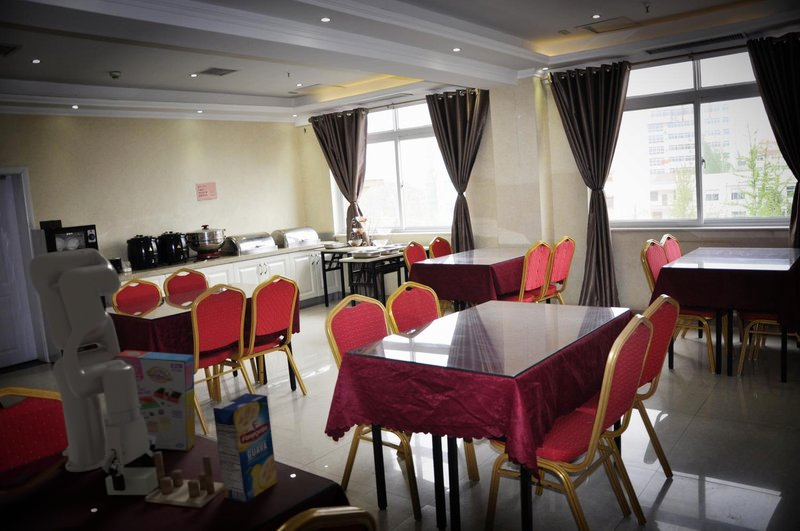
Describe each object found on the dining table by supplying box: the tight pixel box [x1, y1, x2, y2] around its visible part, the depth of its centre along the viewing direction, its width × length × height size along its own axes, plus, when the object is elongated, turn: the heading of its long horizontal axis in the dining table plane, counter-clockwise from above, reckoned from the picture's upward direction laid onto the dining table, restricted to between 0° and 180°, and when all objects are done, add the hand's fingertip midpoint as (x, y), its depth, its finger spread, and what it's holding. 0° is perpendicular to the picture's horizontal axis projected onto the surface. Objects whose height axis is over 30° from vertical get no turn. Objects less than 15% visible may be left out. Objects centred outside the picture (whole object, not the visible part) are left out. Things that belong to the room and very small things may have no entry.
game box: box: [116, 349, 196, 452], centre depth 178 cm, size 21×6×27 cm, turn 84°
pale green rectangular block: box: [104, 466, 158, 496], centre depth 156 cm, size 11×6×4 cm, turn 80°
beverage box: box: [212, 392, 278, 503], centre depth 149 cm, size 7×11×22 cm, turn 149°
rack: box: [145, 450, 224, 508], centre depth 150 cm, size 16×10×10 cm, turn 70°
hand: (134, 481), depth 155 cm, fingers open, 9 cm apart
